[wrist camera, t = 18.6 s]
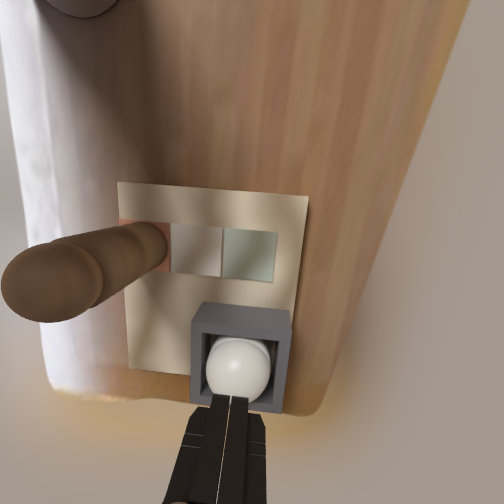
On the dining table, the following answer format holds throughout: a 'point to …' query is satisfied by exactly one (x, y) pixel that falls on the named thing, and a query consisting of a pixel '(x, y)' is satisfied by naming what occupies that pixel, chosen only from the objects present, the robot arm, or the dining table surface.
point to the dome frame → (241, 325)
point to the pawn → (80, 270)
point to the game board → (207, 263)
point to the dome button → (238, 366)
